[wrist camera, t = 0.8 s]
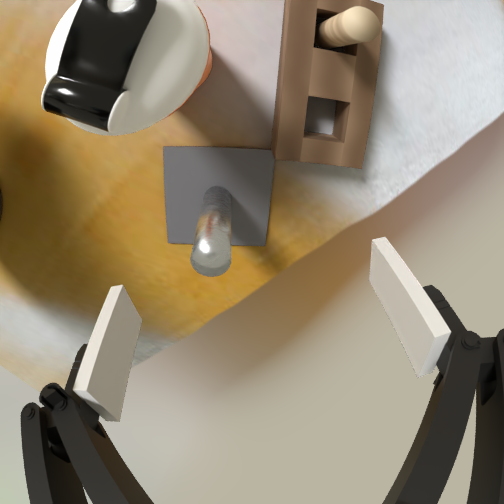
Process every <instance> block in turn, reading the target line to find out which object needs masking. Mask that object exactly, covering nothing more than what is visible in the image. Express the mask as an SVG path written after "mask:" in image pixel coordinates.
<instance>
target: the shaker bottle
mask: <svg viewBox="0 0 504 504" xmlns="http://www.w3.org/2000/svg"><path fill="white" fill-rule="evenodd" d="M211 68H212V53H211V50H210V33H209V29H208V26H207V22H206V19H205V17H204V16H203V14H202V12H201V10H200V8H199V7H198V6H197V5H196V3H195V1H194V0H77V1H76V2H75V3H74V4H73V5H72V6H71V7H70V8H69V9H68V10H67V12H66V13H65V14H64V16H63V17H62V19H61V20H60V21H59V23H58V25H57V27H56V29H55V31H54V33H53V35H52V37H51V40H50V43H49V47H48V50H47V55H46V65H45V70H46V82H47V83H46V85H45V87H44V90H43V93H42V97H41V104H42V108H43V109H44V110H45V111H47V112H50V113H53V114H56V115H59V116H63V117H65V118H66V119H68V120H69V121H70V122H72V123H73V124H74V125H76V126H77V127H79V128H82V129H84V130H86V131H88V132H91V133H96V134H100V135H117V136H118V135H124V134H130V133H134V132H137V131H140V130H142V129H145V128H148V127H150V126H152V125H153V124H155V123H157V122H159V121H161V120H163V119H164V118H166V117H168V116H170V115H171V114H172V113H174V112H175V111H176V110H177V109H179V108H180V107H181V106H182V105H183V104H184V103H185V102H186V101H187V100H188V99H189V97H190V96H191V95H192V94H193V93H194V91H195V90H196V88H198V87H199V86H200V85H201V84H202V83H203V82H204V81H205V80H206V79H207V77H208V75H209V73H210V71H211Z"/></svg>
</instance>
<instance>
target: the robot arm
mask: <svg viewBox="0 0 504 504" xmlns="http://www.w3.org/2000/svg"><path fill="white" fill-rule="evenodd" d="M1 215H2V197H1V191H0V219H1ZM369 281H370V283H371V285H372V287H373V289H374V291H375V293H376V294H377V296H378V298H379V300H380V302H381V304H382V306H383V308H384V310H385V311H386V313H387V315H388V317H389V319H390V321H391V323H392V325H393V327H394V329H395V331H396V333H397V335H398V337H399V339H400V341H401V343H402V345H403V347H404V349H405V351H406V354H407V356H408V358H409V360H410V362H411V364H412V366H413V369H414V371H415V373H416V375H417V377H418V378H419V377H421V376H424V375H426V374H430V373H432V372H433V370H434V368H435V366H436V365H437V367H438V369H439V371H440V372H439V374H438V376H437V377H436V379H435V381H434V383H433V384H435V386H434V389H433V392H432V395H431V398H430V401H429V404H428V406H427V409H426V412H425V415H424V417H423V420H422V423H421V425H420V428H419V430H418V433H417V435H416V437H415V440H414V442H413V444H412V447H411V449H410V451H409V453H408V455H407V458H406V460H405V462H404V464H403V466H402V468H401V470H400V472H399V474H398V476H397V478H396V480H395V482H394V484H393V486H392V487H391V489H390V491H389V493H388V495H387V496H386V498H385V500H384V502H383V503H382V504H437V503H438V501H439V498H440V497H441V494H442V492H443V490H444V487H445V485H446V483H447V480H448V478H449V475H450V473H451V470H452V468H453V465H454V462H455V460H456V457H457V454H458V451H459V448H460V445H461V442H462V439H463V436H464V433H465V429H466V426H467V422H468V419H469V415H470V411H471V407H472V403H473V399H474V394H475V390H476V433H475V434H476V435H475V448H474V459H473V468H472V476H471V482H470V489H469V494H468V500H467V504H504V329H502V330H500V331H499V333H498V335H497V336H496V337H487V338H480V336H479V335H477V334H476V333H474V332H472V331H467V330H466V329H465V327H464V325H463V324H462V322H461V321H460V319H459V318H458V316H457V315H456V313H455V312H454V310H453V309H452V308H451V307H450V305H449V303H448V302H447V301H446V300H445V298H444V296H443V295H442V293H441V292H440V291H439V290H438V289H436V288H435V287H434V286H432V285H429V286H425V287H422V286H421V285H420V283H419V282H418V281H417V279H416V278H415V276H414V275H413V274H412V272H411V271H410V269H409V268H408V267H407V265H406V264H405V262H404V261H403V260H402V258H401V257H400V256H399V254H398V253H397V252H396V250H395V249H394V248H393V246H392V245H391V244H390V243H389V241H388V240H387V239H386V237H383V238H378V239H373V240H372V250H371V265H370V278H369ZM141 324H142V319H141V317H140V315H139V313H138V312H137V310H136V308H135V306H134V304H133V303H132V301H131V299H130V297H129V295H128V293H127V292H126V290H125V288H124V286H123V285H118V286H112V287H111V288H110V291H109V293H108V295H107V298H106V300H105V302H104V305H103V307H102V310H101V312H100V314H99V317H98V319H97V322H96V325H95V327H94V330H93V332H92V335H91V338H90V340H89V343H88V344H83V346H82V347H81V348H80V350H79V351H78V353H77V355H76V358H75V362H74V363H73V366H72V369H71V372H70V375H69V378H68V381H67V384H66V387H65V390H64V389H63V388H62V387H61V386H60V385H59V384H57V383H50V384H48V385H46V386H45V387H44V388H43V389H42V391H41V393H40V396H39V400H40V403H42V404H43V405H44V406H45V407H42V408H40V407H39V406H38V405H37V404H36V403H33V402H32V403H28V404H27V405H26V406H25V407H24V408H23V410H22V412H21V436H22V449H23V459H24V468H25V475H26V482H27V488H28V494H29V499H30V504H88V502H87V499H86V496H85V493H84V489H85V490H86V492H87V494H88V496H89V498H90V499H91V501H92V503H93V504H154V503H153V502H152V500H151V499H150V498H149V497H148V495H147V494H146V492H145V491H144V490H143V488H142V487H141V486H140V484H139V483H138V482H137V480H136V479H135V477H134V476H133V474H132V473H131V471H130V470H129V468H128V467H127V465H126V464H125V462H124V461H123V459H122V458H121V456H120V455H119V453H118V451H117V450H116V448H115V447H114V445H113V443H112V442H111V440H110V438H109V437H108V435H107V433H106V431H105V429H104V428H103V426H102V424H101V423H100V422H99V421H98V420H99V416H101V417H102V418H104V419H105V420H106V421H116V422H120V417H121V412H122V407H123V401H124V397H125V392H126V387H127V382H128V378H129V373H130V369H131V364H132V360H133V356H134V352H135V348H136V344H137V340H138V336H139V332H140V328H141ZM83 487H84V489H83Z"/></svg>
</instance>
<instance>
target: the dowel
mask: <svg viewBox="0 0 504 504" xmlns="http://www.w3.org/2000/svg"><path fill="white" fill-rule="evenodd" d="M379 33H380V22H379V20H378V18H377V16H376V15H375V14H374V13H373V12H372V11H371V10H369V9H367V8H365V7H361V6H356V7H352V8H350V9H348V10H346V11H343V12H341V13H339V14H337V15H335V16H333V17H331V18H330V19H328V20H326V21H324V22H322V23H320V24H318V25H316V26H315V36H314V43H315V44H316V45H317V46H318V47H320V48H323V49H331V48H336V47H340V46H345V45H350V44H356V43H361V42H367V41H372V40H374V39H375V38H376V37H377V36H378V35H379Z"/></svg>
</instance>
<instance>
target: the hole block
mask: <svg viewBox="0 0 504 504" xmlns="http://www.w3.org/2000/svg"><path fill="white" fill-rule="evenodd" d="M356 6H361V7H365V8H367V9H369V10H371V11H372V12H373V13H374V14H375V15H376V16H377V18H378V20H379V22H380V33H379V35H378V36H377V37H376V38H375V39H374V40H372V41H367V42H361V43H356V44H350V45H345V46H344V47H343V53H339V52H334V51H329V50H324V49H319V48H313V47H314V36H315V25H316V17H319V18H324V19H330V18H331V17H333V16H335V15H337V14H339V13H341V12H343V11H346V10H348V9H350V8H352V7H356ZM383 10H384V5H383V4H380V3H377V2H374V1H371V0H285V4H284V15H283V26H282V37H281V48H280V59H279V70H278V80H277V91H276V101H275V111H274V121H273V132H272V142H271V151H272V153H273V156H274V158H275V160H287V161H298V162H309V163H318V164H328V165H336V166H344V167H352V168H359V169H362V164H363V159H364V154H365V149H366V144H367V138H368V133H369V127H370V121H371V115H372V109H373V102H374V96H375V89H376V81H377V73H378V65H379V56H380V47H381V36H382V24H383ZM308 96H315V97H321V98H327V99H333V100H337V106H336V113H335V120H334V127H333V133H332V135H329V134H321V133H313V132H305V131H304V127H305V119H306V110H307V102H308Z"/></svg>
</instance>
